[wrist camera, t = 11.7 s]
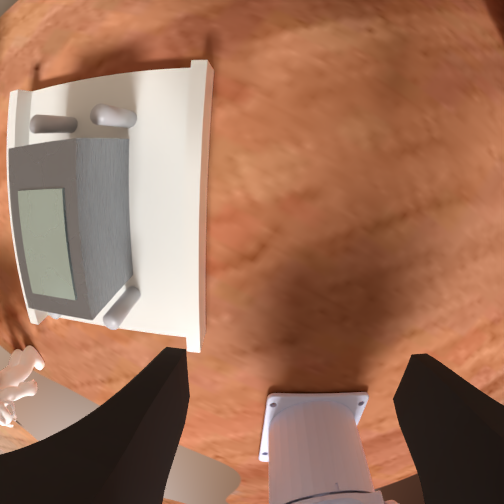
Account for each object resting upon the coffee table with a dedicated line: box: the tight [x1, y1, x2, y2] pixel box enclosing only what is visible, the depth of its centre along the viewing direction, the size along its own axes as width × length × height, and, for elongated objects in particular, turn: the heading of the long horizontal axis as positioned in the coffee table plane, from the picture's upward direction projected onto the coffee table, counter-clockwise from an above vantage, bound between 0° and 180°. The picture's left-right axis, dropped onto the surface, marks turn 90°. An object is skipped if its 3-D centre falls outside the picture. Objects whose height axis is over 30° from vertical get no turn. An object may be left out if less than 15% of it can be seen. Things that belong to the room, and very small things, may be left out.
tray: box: [7, 60, 214, 353], centre depth 15 cm, size 16×13×4 cm
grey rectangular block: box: [8, 138, 133, 320], centre depth 14 cm, size 8×4×6 cm, turn 177°
